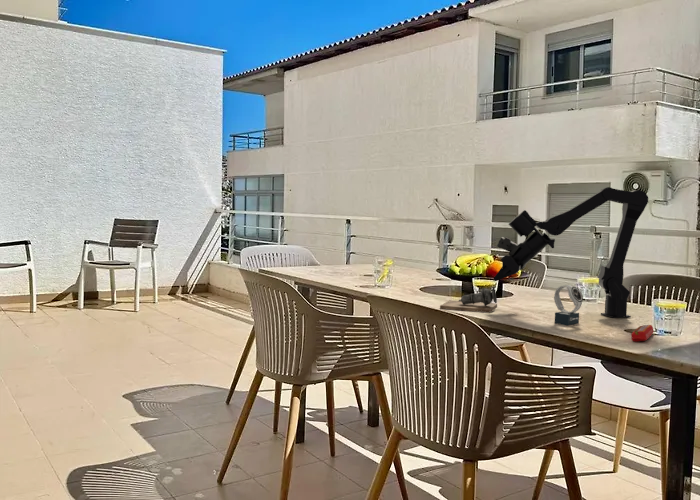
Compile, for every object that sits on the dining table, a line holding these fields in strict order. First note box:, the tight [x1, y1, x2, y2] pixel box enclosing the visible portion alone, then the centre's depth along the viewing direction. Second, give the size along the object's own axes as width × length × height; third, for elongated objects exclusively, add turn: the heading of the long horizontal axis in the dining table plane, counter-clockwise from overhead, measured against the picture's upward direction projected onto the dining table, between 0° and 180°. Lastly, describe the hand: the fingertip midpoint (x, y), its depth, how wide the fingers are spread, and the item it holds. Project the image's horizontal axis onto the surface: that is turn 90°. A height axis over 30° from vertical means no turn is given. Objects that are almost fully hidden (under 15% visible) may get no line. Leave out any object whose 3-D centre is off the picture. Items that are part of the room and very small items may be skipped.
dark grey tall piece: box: [458, 287, 498, 306], centre depth 216 cm, size 6×6×12 cm
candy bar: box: [630, 324, 654, 342], centre depth 171 cm, size 16×4×3 cm, turn 148°
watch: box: [553, 284, 584, 326], centre depth 190 cm, size 6×8×11 cm
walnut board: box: [439, 299, 498, 313], centre depth 217 cm, size 16×14×1 cm
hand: (494, 280), depth 214 cm, fingers closed
